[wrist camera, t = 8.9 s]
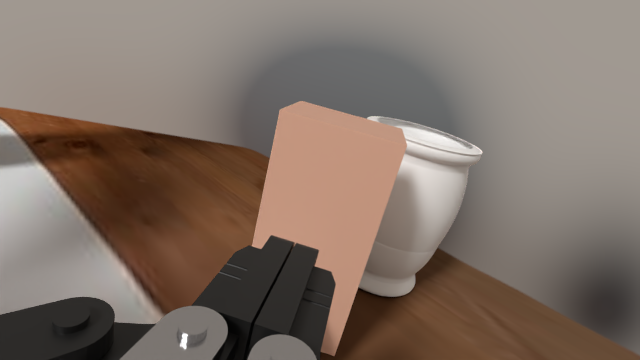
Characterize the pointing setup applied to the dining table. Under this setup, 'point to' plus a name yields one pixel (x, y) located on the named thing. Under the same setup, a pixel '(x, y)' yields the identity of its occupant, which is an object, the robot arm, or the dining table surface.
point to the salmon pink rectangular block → (330, 194)
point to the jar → (417, 206)
